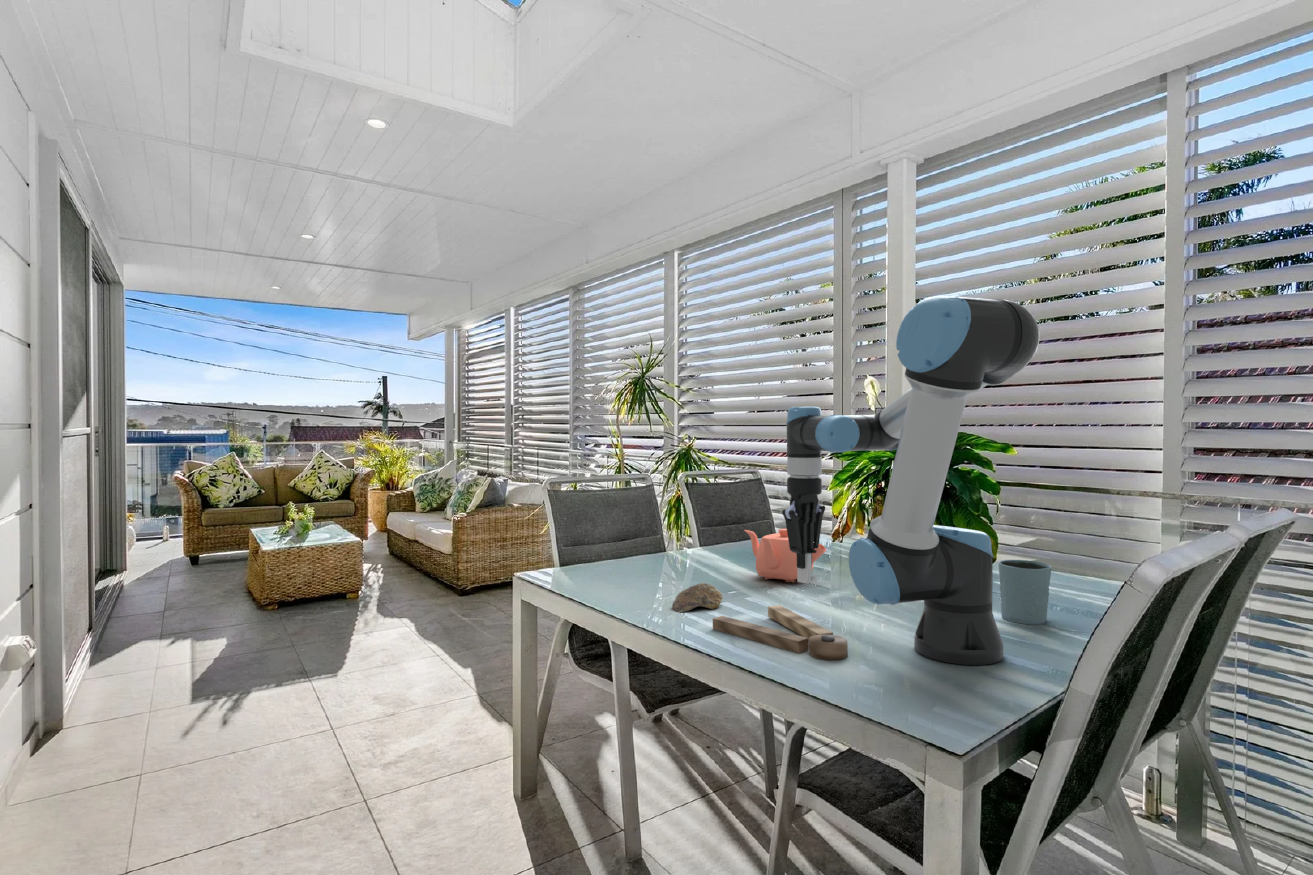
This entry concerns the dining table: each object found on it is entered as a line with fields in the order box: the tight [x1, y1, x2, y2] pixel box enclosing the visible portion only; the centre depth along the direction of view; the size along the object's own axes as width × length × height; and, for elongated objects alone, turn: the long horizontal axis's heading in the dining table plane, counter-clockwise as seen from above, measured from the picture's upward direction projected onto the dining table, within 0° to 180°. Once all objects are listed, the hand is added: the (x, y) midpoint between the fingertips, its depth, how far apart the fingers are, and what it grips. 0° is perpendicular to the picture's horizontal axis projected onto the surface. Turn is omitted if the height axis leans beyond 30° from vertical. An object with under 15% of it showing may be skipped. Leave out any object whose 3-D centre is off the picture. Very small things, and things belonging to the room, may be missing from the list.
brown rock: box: [672, 582, 724, 613], centre depth 163 cm, size 10×12×5 cm
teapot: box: [744, 528, 827, 583], centre depth 192 cm, size 18×18×14 cm
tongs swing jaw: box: [767, 604, 834, 641], centre depth 142 cm, size 22×3×2 cm, turn 17°
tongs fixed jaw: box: [712, 615, 849, 661], centre depth 136 cm, size 30×7×3 cm, turn 42°
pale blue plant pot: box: [998, 559, 1052, 625], centre depth 149 cm, size 10×10×12 cm
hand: (804, 582), depth 153 cm, fingers closed
